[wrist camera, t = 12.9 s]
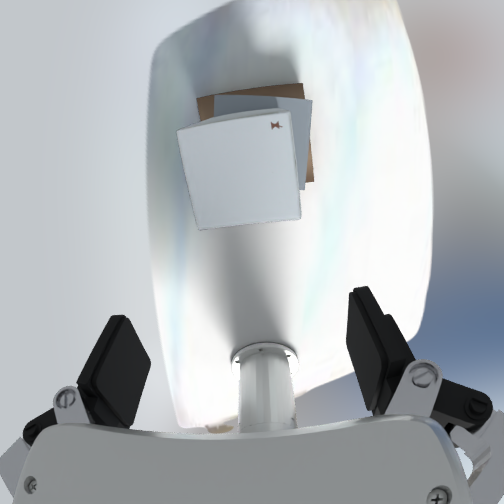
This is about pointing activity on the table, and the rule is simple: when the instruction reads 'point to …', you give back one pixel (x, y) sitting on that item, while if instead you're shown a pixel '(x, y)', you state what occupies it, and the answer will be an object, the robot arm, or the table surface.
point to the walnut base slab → (275, 91)
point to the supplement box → (241, 168)
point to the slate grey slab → (297, 107)
